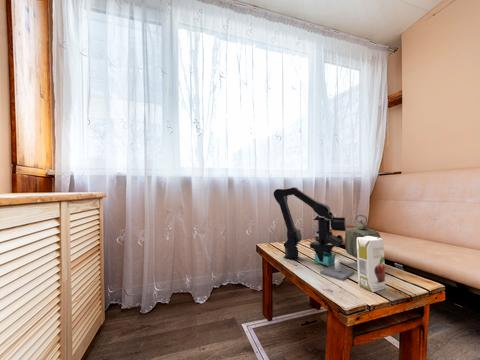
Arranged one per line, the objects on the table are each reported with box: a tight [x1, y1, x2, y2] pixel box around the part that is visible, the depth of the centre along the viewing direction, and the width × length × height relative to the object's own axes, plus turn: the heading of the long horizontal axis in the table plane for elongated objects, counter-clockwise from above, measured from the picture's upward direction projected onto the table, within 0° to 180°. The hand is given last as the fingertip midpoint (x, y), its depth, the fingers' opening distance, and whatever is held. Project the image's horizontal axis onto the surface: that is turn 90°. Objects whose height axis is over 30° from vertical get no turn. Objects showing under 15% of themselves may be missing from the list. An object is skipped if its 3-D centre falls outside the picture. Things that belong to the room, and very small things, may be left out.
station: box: [320, 258, 355, 281], centre depth 96 cm, size 10×12×6 cm
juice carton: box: [356, 236, 386, 293], centre depth 83 cm, size 8×9×19 cm
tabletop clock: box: [344, 214, 381, 259], centre depth 107 cm, size 14×9×25 cm, turn 14°
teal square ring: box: [314, 252, 336, 267], centre depth 109 cm, size 7×7×4 cm
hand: (324, 260), depth 109 cm, fingers closed on teal square ring, 7 cm apart
